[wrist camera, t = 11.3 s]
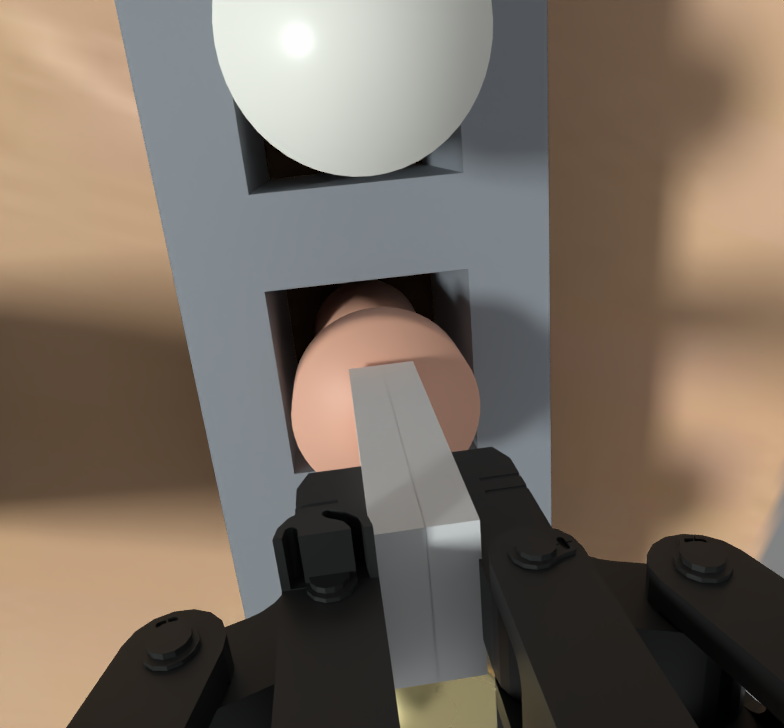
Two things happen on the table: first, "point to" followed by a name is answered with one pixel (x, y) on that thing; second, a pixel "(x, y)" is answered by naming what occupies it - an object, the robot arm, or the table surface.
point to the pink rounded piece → (371, 348)
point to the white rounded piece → (354, 75)
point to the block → (343, 256)
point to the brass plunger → (450, 703)
